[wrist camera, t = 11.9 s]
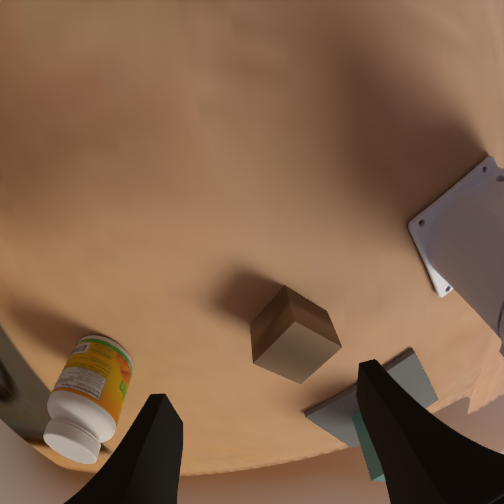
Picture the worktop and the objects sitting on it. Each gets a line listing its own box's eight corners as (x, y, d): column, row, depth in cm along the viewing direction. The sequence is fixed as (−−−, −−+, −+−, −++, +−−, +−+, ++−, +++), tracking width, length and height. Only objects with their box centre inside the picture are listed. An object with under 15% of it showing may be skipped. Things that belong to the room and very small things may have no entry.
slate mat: (412, 348, 24) (414, 352, 24) (436, 396, 28) (438, 399, 28) (304, 411, 27) (305, 416, 26) (352, 444, 31) (353, 448, 31)
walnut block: (284, 284, 21) (294, 321, 17) (326, 310, 22) (342, 347, 18) (250, 324, 22) (252, 363, 18) (291, 345, 23) (300, 383, 19)
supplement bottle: (130, 385, 24) (106, 476, 16) (77, 364, 23) (40, 448, 14) (138, 347, 22) (107, 450, 14) (78, 323, 21) (28, 416, 12)
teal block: (384, 392, 26) (412, 456, 18) (405, 401, 27) (432, 458, 20) (351, 417, 27) (371, 480, 20) (375, 424, 28) (395, 481, 21)
